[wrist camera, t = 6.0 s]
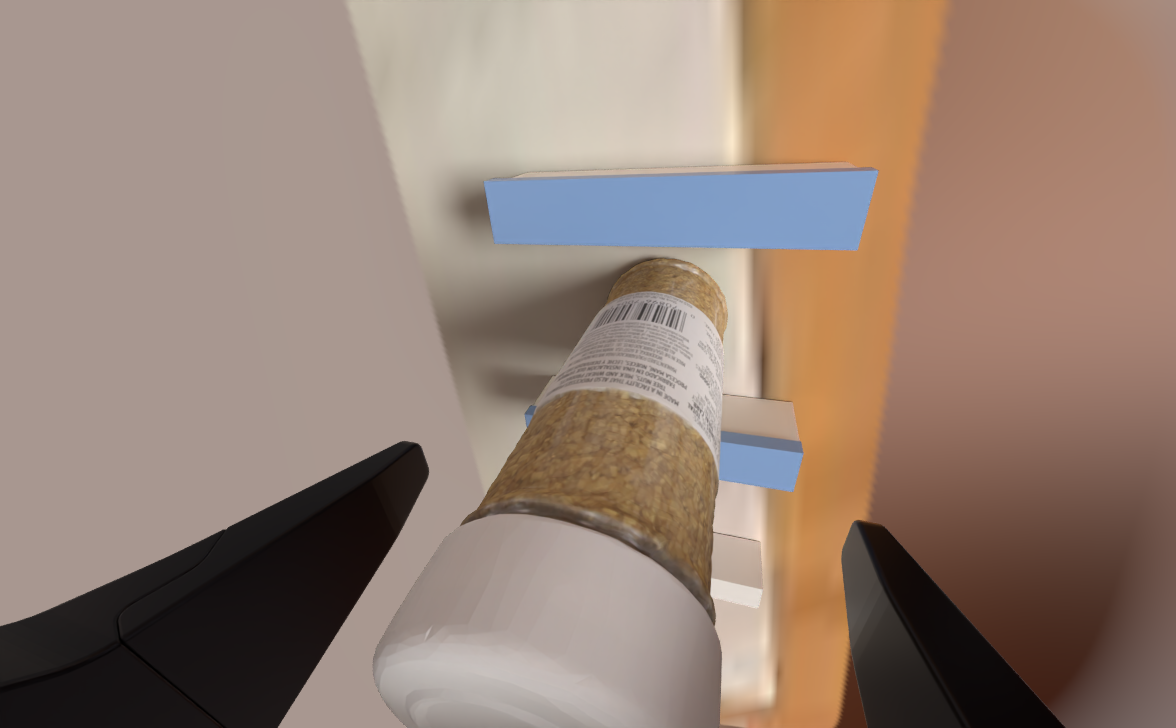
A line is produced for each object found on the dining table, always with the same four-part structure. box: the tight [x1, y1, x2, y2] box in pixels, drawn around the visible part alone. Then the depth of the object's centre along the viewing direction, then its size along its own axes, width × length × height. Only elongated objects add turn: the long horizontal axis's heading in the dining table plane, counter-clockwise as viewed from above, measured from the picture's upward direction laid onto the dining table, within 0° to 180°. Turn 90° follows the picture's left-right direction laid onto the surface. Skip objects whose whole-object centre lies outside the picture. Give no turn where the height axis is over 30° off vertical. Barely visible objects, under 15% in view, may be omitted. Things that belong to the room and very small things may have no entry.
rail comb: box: [484, 162, 878, 609], centre depth 17 cm, size 19×10×3 cm, turn 4°
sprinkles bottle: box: [373, 258, 728, 728], centre depth 11 cm, size 5×5×13 cm
